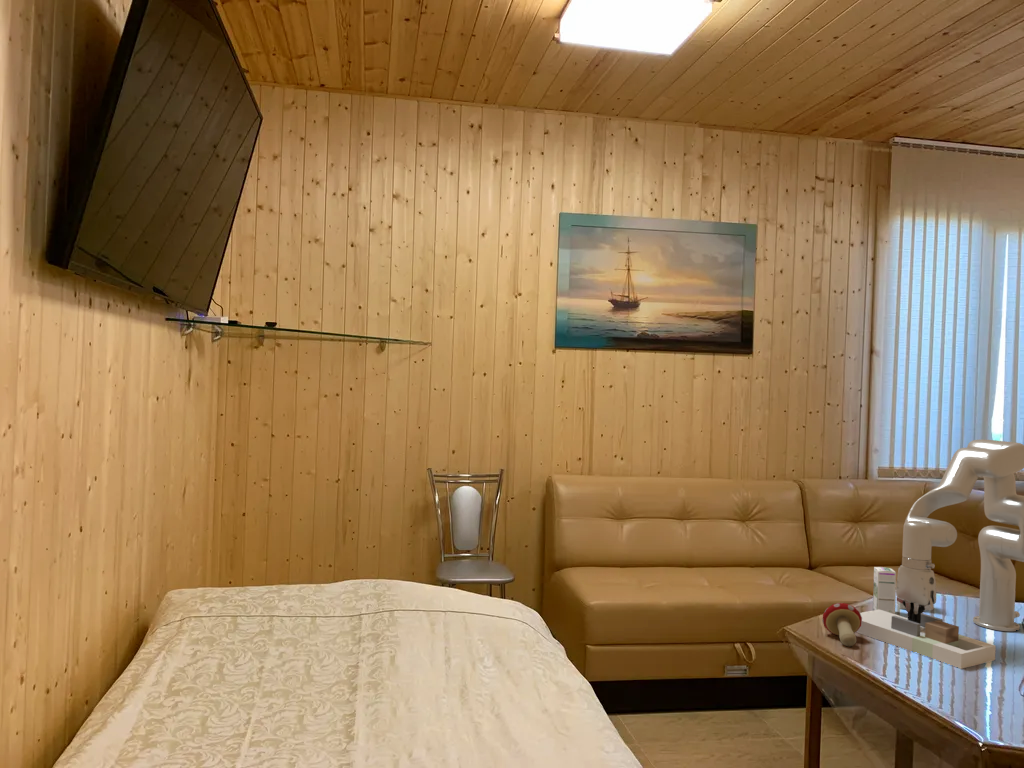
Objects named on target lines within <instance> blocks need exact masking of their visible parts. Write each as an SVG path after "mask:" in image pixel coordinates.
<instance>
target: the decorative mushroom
mask: <svg viewBox="0 0 1024 768" xmlns="http://www.w3.org/2000/svg"><path fill="white" fill-rule="evenodd" d="M860 613H861V612H860V611H859V610H858V609H857V608H856V607H855V606H853V605H851V604H849V603H845V602H844V603H843V602H837V603H833V604H831V605H830V606H828V607H827V608H826V609H825V610H824V612H823V614H822V624H823V627H824V628H825V629H826V630H827V631H828V632H829V633H830V634H833V635H835V636H838V637H839V640H840V642H841V644H842V645H844V646H846V647H853V646H854V645H856V643H857V636H856V634H855V633H857V632H856V631H858V629H859V628H860V626H861V622H862V617H861V614H860Z"/></svg>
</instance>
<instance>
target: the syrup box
mask: <svg viewBox="0 0 1024 768" xmlns="http://www.w3.org/2000/svg"><path fill="white" fill-rule="evenodd" d="M896 583H897V572H896V571H895V570H894V569H893V568H892V567H885V566H884V567H883V566H874V567H873V597H872V598H873V599H872V600H873V601H872V609H873V610H878V609H879V610H883V611H886V612H889V613H892V614H895V615H896V602H897V595H896Z"/></svg>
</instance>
